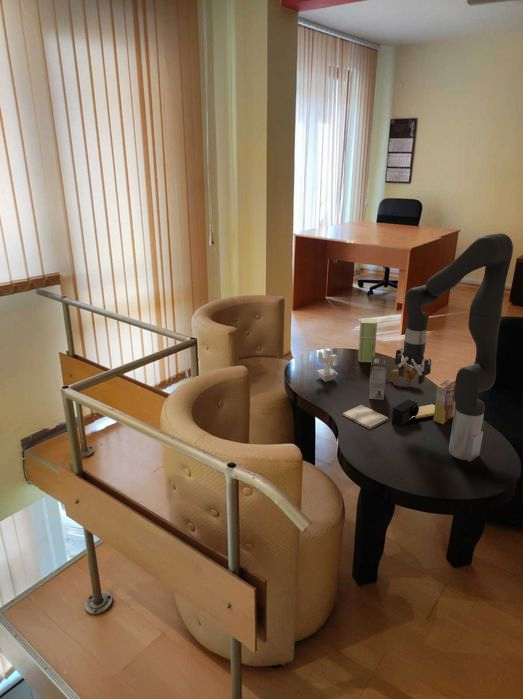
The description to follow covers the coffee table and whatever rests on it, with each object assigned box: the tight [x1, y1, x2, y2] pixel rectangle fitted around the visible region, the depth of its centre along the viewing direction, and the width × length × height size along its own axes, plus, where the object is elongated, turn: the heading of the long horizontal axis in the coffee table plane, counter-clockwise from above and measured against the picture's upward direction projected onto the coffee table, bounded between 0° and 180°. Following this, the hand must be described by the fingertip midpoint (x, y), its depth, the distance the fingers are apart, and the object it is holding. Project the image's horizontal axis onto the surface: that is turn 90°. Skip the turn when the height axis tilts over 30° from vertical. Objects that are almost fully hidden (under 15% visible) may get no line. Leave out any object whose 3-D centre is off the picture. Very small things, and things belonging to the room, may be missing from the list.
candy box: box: [433, 378, 456, 425], centre depth 195 cm, size 9×4×15 cm, turn 133°
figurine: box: [316, 347, 339, 383], centre depth 230 cm, size 7×9×15 cm
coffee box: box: [368, 356, 388, 401], centre depth 215 cm, size 9×6×16 cm
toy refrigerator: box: [357, 317, 378, 363], centre depth 249 cm, size 8×7×21 cm
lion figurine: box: [385, 366, 419, 388], centre depth 226 cm, size 15×5×9 cm, turn 79°
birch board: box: [342, 404, 389, 430], centre depth 199 cm, size 14×11×1 cm
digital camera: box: [391, 398, 420, 428], centre depth 195 cm, size 10×5×7 cm, turn 133°
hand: (410, 379), depth 190 cm, fingers open, 8 cm apart
